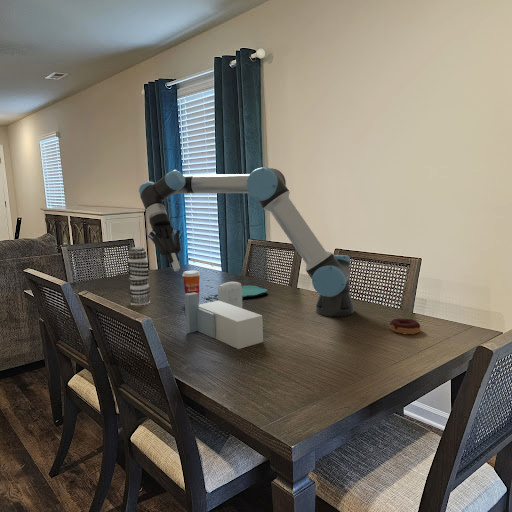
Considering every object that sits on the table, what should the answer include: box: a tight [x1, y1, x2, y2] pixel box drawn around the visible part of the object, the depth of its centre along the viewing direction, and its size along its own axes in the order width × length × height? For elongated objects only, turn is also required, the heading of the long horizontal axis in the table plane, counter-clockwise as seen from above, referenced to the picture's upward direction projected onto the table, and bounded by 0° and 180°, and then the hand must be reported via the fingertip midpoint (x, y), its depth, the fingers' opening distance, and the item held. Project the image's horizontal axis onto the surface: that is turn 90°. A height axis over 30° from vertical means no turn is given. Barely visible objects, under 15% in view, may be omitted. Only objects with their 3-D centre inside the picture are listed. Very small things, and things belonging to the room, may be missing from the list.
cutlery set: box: [201, 285, 268, 302], centre depth 213 cm, size 20×30×2 cm, turn 122°
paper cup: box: [182, 270, 201, 300], centre depth 200 cm, size 8×8×14 cm
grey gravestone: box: [217, 281, 243, 309], centre depth 185 cm, size 10×4×12 cm, turn 123°
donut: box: [389, 318, 421, 335], centre depth 157 cm, size 10×10×4 cm
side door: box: [184, 292, 216, 339], centre depth 156 cm, size 12×4×13 cm, turn 37°
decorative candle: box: [126, 246, 151, 306], centre depth 200 cm, size 9×9×25 cm
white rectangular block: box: [199, 300, 264, 350], centre depth 156 cm, size 26×10×9 cm, turn 37°
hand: (177, 269), depth 171 cm, fingers closed
